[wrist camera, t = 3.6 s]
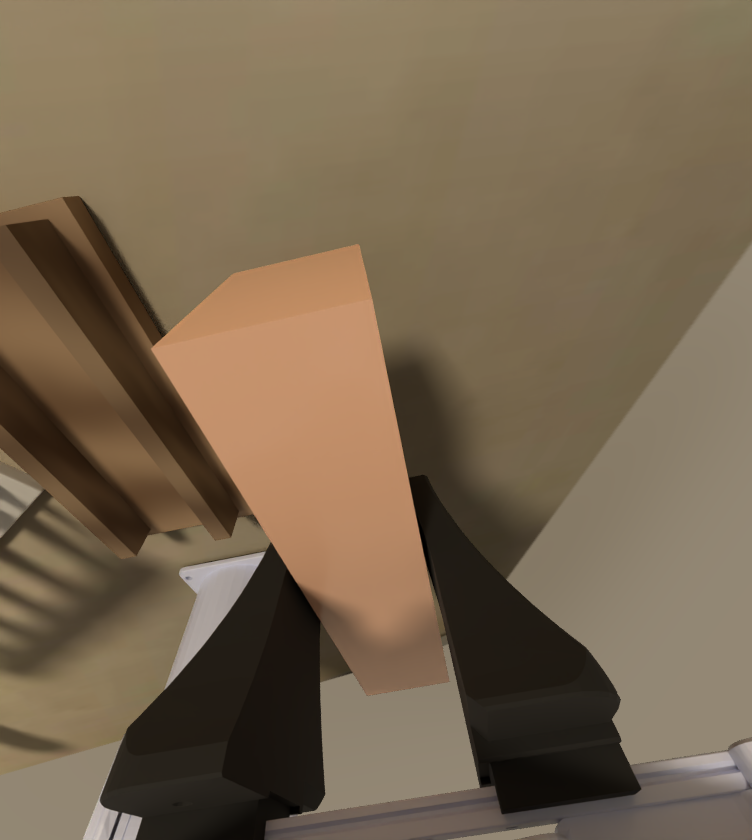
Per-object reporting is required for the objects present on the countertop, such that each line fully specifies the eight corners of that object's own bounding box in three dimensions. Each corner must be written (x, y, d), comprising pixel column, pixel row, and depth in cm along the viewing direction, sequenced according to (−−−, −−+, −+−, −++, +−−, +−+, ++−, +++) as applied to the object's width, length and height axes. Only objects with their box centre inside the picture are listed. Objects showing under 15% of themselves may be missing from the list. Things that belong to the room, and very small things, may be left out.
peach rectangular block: (426, 570, 19) (449, 681, 14) (361, 582, 19) (367, 696, 15) (359, 244, 9) (371, 298, 5) (232, 273, 9) (150, 348, 5)
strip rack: (258, 502, 24) (249, 539, 21) (134, 526, 24) (111, 566, 22) (78, 196, 14) (20, 200, 11) (-132, 249, 14) (-232, 264, 12)
